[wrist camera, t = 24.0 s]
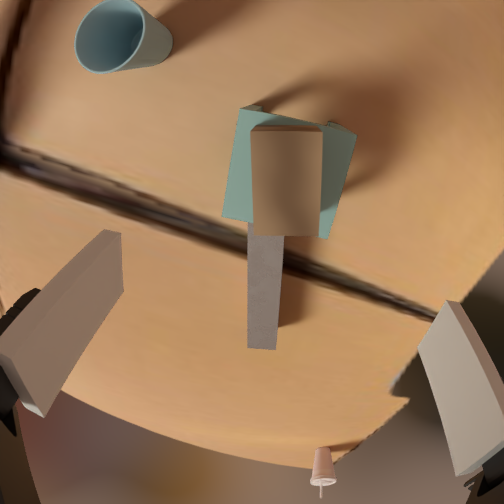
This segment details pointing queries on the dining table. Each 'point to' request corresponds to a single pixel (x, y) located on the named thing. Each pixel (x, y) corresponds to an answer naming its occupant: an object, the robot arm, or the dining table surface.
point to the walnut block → (286, 179)
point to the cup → (120, 38)
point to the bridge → (333, 165)
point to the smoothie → (323, 469)
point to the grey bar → (264, 288)
